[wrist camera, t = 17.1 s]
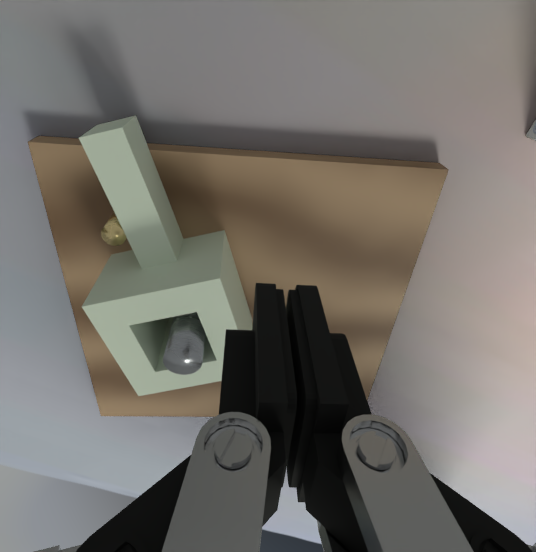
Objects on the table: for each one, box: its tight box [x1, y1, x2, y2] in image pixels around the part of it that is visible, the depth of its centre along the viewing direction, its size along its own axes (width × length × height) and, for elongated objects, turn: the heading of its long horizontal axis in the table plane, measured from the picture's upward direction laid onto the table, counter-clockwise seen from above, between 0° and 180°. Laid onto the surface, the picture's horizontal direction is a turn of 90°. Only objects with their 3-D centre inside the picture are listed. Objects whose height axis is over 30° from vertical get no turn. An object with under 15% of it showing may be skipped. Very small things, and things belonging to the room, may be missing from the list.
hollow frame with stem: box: [79, 115, 252, 396], centre depth 20 cm, size 14×7×5 cm, turn 12°
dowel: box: [101, 212, 127, 246], centre depth 20 cm, size 1×1×2 cm
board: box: [28, 136, 448, 417], centre depth 26 cm, size 22×22×1 cm
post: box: [163, 312, 206, 375], centre depth 22 cm, size 2×2×6 cm
